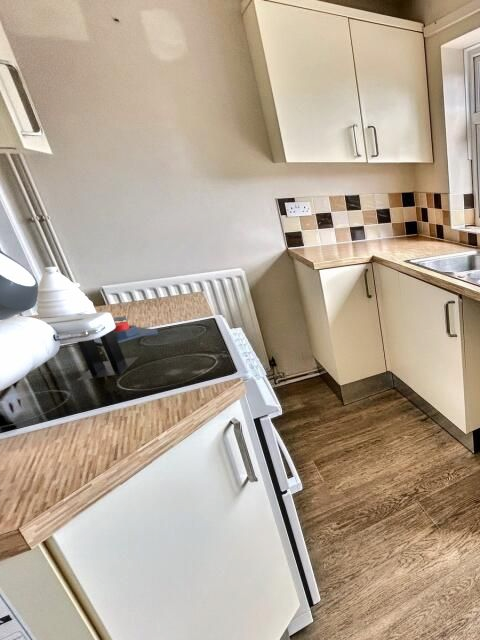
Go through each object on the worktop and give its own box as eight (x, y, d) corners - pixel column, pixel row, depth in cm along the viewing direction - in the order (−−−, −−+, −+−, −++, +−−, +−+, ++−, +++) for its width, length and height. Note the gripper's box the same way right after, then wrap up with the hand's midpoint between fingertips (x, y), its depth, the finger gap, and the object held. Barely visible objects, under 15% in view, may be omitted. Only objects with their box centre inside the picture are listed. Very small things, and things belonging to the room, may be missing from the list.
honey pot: (104, 319, 139) (82, 264, 132) (50, 330, 129) (23, 272, 122) (91, 313, 145) (69, 261, 139) (38, 324, 135) (12, 269, 129)
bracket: (123, 378, 95) (99, 320, 90) (77, 385, 92) (50, 326, 87) (140, 361, 104) (120, 307, 99) (99, 367, 101) (76, 312, 96)
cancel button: (118, 332, 115) (115, 326, 115) (110, 331, 116) (107, 325, 116) (133, 328, 118) (130, 322, 118) (125, 327, 120) (122, 321, 119)
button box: (110, 350, 112) (105, 338, 111) (90, 346, 115) (85, 334, 114) (159, 335, 122) (155, 323, 121) (139, 332, 125) (135, 321, 124)
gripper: (90, 316, 75) (120, 297, 87) (-73, 335, 68) (-15, 312, 79) (104, 348, 78) (131, 326, 89) (-52, 371, 70) (1, 343, 82)
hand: (61, 319), depth 84 cm, fingers closed on lever, 5 cm apart
